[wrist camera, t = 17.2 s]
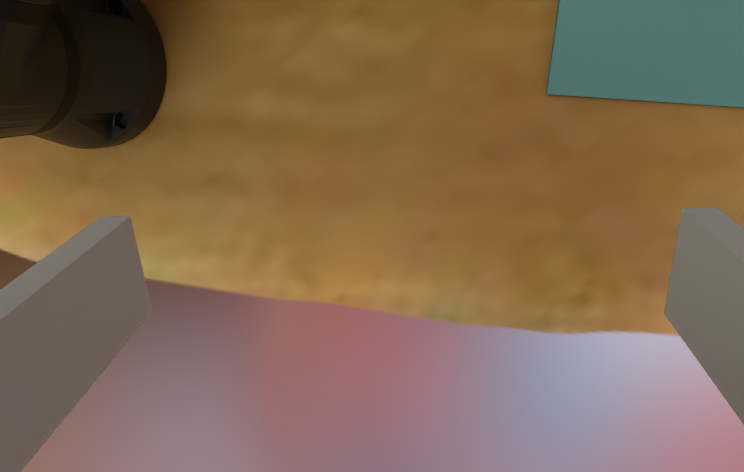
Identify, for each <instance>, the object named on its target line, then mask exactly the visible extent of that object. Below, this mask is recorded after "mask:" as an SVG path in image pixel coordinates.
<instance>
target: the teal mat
mask: <svg viewBox="0 0 744 472" xmlns="http://www.w3.org/2000/svg"><path fill="white" fill-rule="evenodd" d="M546 94H554V95H569V96H584V97H598V98H613V99H628V100H643V101H658V102H672V103H687V104H702V105H717V106H732V107H744V0H559V5H558V12H557V20H556V27H555V34H554V41H553V48H552V56H551V63H550V70H549V77H548V85H547V92H546Z"/></svg>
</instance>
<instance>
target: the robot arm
mask: <svg viewBox="0 0 744 472" xmlns="http://www.w3.org/2000/svg"><path fill="white" fill-rule="evenodd" d="M165 74H166V68H165V57H164V51H163V46H162V42H161V39H160V36H159V33H158V31H157V28H156V26H155V24H154V22H153V20H152V18H151V16H150V15H149V13H148V12H147V10H146V9H145V7H144V6H143V5H142V4H141V2H140V1H139V0H0V138H8V137H17V136H24V135H33V136H36V137H40V138H43V139H46V140H50V141H53V142H56V143H59V144H63V145H66V146H70V147H74V148H82V149H95V148H102V147H109V146H115V145H118V144H122V143H124V142H126V141H128V140H130V139H132V138H134V137H135V136H136V135H138V134H139V133H140V132H141V131H142V130H144V128H145V127H146V126H147V125H148V124H149V123H150V121H151V120H152V118H153V117H154V115H155V113H156V111H157V109H158V107H159V104H160V102H161V99H162V95H163V91H164V85H165ZM151 313H152V308H151V304H150V300H149V295H148V291H147V287H146V282H145V278H144V274H143V269H142V265H141V261H140V256H139V252H138V248H137V243H136V239H135V235H134V231H133V226H132V222H131V218H130V216H109V217H100V218H98V219H97V220H96V221H94V222H93V223H91V224H90V225H89V226H87V227H86V228H85V229H83V230H82V231H80V232H79V233H78V234H76V235H75V236H74V237H72V238H71V239H70V240H68V241H67V242H65V243H64V244H63V245H61V246H60V247H59V248H57V249H56V250H54V251H53V252H52V253H50V254H49V255H48V256H46V257H45V258H43V259H42V260H41V261H39V262H38V263H37V264H36V265H34V266H32V267H31V268H30V269H28V270H27V271H26V272H25V273H23V274H21V275H20V276H19V277H17V278H16V279H15V280H13V281H12V282H11V283H9V284H8V285H6V286H5V287H4V288H2V289H1V290H0V472H21V471H22V469H23V468H24V467H25V466H26V465H27V463H28V462H29V461H30V460H31V459H32V457H33V456H34V455H35V453H36V452H37V451H38V450H39V449H40V448H41V446H42V445H43V444H44V443H45V442H46V440H47V439H48V438H49V437H50V435H51V434H52V433H53V432H54V431H55V429H56V428H57V427H58V425H59V424H60V423H61V422H62V421H63V420H64V418H65V417H66V416H67V415H68V414H69V412H70V411H71V410H72V409H73V408H74V406H75V405H76V404H77V403H78V401H79V400H80V399H81V398H82V397H83V395H84V394H85V393H86V392H87V391H88V389H89V388H90V387H91V386H92V384H93V383H94V382H95V381H96V380H97V378H98V377H99V376H100V375H101V374H102V372H103V371H104V370H105V369H106V367H107V366H108V365H109V364H110V363H111V361H112V360H113V359H114V357H116V355H117V354H118V353H119V352H120V350H121V349H122V348H123V347H124V346H125V344H126V343H127V342H128V341H129V340H130V338H131V337H132V336H133V335H134V334H135V332H136V331H137V330H138V329H139V327H140V326H141V325H142V324H143V323H144V321H145V320H146V319H147V318H148V316H149V315H150V314H151ZM664 314H665V315H666V316H667V318H668V319H669V321H670V322H671V323H672V325H673V326H674V328H675V329H676V330H677V332H678V333H679V335H680V336H681V337H682V339H683V340H684V342H685V343H686V344H687V346H688V347H689V349H690V350H691V351H692V353H693V354H694V356H695V357H696V358H697V360H698V361H699V362H700V364H701V365H702V367H703V368H704V370H705V371H706V372H707V374H708V375H709V377H710V378H711V379H712V381H713V382H714V384H715V385H716V386H717V388H718V389H719V391H720V392H721V393H722V395H723V396H724V398H725V399H726V400H727V402H728V403H729V405H730V406H731V407H732V409H733V410H734V412H735V413H736V414H737V416H738V417H739V419H740V420H741V421H742V423H743V424H744V227H742V226H741V225H740V224H738V223H737V222H736V221H735V220H733V219H732V218H731V217H729V216H728V215H727V214H726V213H724V212H723V211H722V210H720V209H719V208H683V210H682V215H681V221H680V227H679V232H678V238H677V244H676V249H675V255H674V260H673V266H672V272H671V277H670V283H669V289H668V294H667V300H666V305H665V311H664Z"/></svg>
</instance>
